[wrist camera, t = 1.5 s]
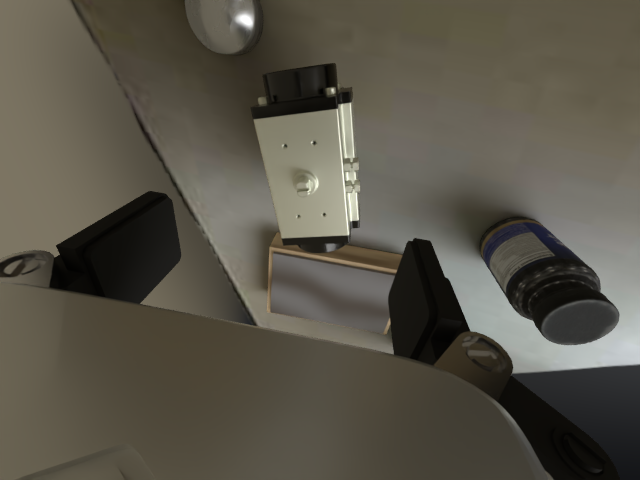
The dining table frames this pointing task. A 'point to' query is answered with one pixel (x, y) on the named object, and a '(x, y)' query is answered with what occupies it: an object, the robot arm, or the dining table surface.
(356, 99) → the dining table surface
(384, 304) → the framed panel
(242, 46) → the steel spacer
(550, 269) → the pill bottle
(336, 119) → the pneumatic valve
